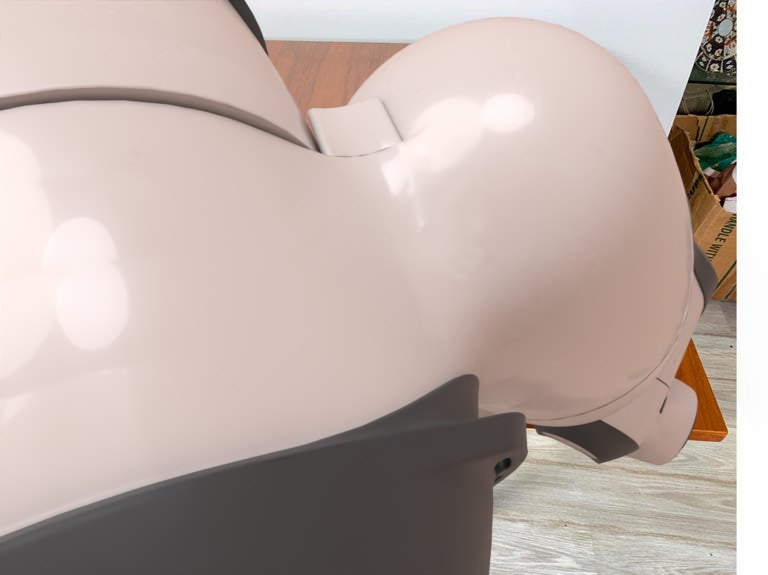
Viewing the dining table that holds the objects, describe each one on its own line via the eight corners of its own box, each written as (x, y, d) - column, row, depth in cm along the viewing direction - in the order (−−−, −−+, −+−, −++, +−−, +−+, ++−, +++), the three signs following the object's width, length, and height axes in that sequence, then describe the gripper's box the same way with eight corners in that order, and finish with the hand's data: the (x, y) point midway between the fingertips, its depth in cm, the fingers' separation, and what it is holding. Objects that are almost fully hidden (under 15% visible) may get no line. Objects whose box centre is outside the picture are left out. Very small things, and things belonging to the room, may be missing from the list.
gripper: (554, 266, 60) (435, 222, 65) (467, 412, 48) (330, 344, 53) (542, 307, 64) (432, 263, 70) (460, 450, 52) (334, 384, 57)
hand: (387, 299), depth 61 cm, fingers open, 8 cm apart
